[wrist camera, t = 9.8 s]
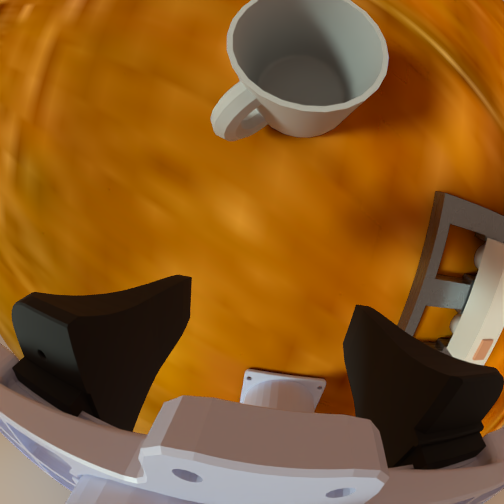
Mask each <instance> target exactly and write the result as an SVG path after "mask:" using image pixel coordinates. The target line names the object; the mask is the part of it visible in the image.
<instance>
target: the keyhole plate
mask: <svg viewBox="0 0 504 504" xmlns="http://www.w3.org/2000/svg"><path fill="white" fill-rule="evenodd" d="M450 224H452V225H456V226H459V227H462V228H465V229H468V230H471V231H475V237H477V238H479V239H481V240H484V241H487V238H490V239H493V240H496V241H499V242H501V243H504V216H502V215H500V214H498V213H496V212H493V211H491V210H489V209H486V208H484V207H481V206H479V205H476V204H474V203H471V202H469V201H466V200H463V199H461V198H458V197H455V196H453V195H450V194H447V193H443V192H438V191H435V197H434V203H433V208H432V213H431V218H430V222H429V227H428V231H427V235H426V239H425V243H424V247H423V251H422V255H421V258H420V262H419V265H418V269H417V272H416V275H415V278H414V281H413V284H412V287H411V290H410V293H409V296H408V299H407V302H406V305H405V307H404V310H403V313H402V315H401V318H400V320H399V323H398V325H397V326H398V327H399V328H401V329H402V330H404V331H405V332H407V333H408V334H410V335H411V336H413V335H414V332H415V330H416V328H417V325H418V323H419V321H420V318H421V316H422V313H423V311H424V308H425V306H426V305H427V306H435V307H444V308H453V309H455V310H456V311H457V312H458V313H459V314H463V311H464V309H465V306H466V304H467V301H468V299H469V296H470V293H471V290H472V288H473V285H474V282H475V279H476V276H473V275H468V274H464V275H463V278H456V277H451V276H446V275H440V274H437V271H438V268H439V264H440V261H441V258H442V254H443V251H444V247H445V243H446V239H447V235H448V231H449V226H450ZM450 340H451V339H447V338H438V340H437V342H422V343H424V344H426V345H428V346H430V347H431V348H433V349H435V350H438V351H440V352H442V353H444V354H447V355H449V356H452V355H451V354H450V353H449V351H448V350H447V346H448V344H449V342H450Z"/></svg>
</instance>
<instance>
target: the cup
mask: <svg viewBox="0 0 504 504" xmlns="http://www.w3.org/2000/svg"><path fill="white" fill-rule="evenodd" d="M227 53H228V55H229V58H230V61H231V64H232V67H233V69H234V70H235V72H236V74H237V75H238V77H239V80H240V81H239V82H238V83H237V84H236V85H234V86H233V87H232V88H231V89H230V90H228V91H227V92H226V93H225V94H224V95H223V97H222V98H221V99H220V100H219V102H218V103H217V105H216V106H215V108H214V109H213V111H212V115H211V123H212V126H213V130H214V132H215V134H216V135H218V136H220V137H222V138H224V139H226V140H228V141H236V140H239V139H242V138H245V137H248V136H250V135H252V134H254V133H256V132H257V131H259V130H260V129H262V128H263V127H265V126H266V125H267V124H269V125H270V126H271V127H272V128H274V129H276V130H278V131H279V132H281V133H283V134H286V135H290V136H294V137H314V136H318V135H322V134H324V133H326V132H328V131H330V130H332V129H334V128H335V127H336V126H338V125H339V124H340V123H341V122H342V121H343V120H344V119H345V118H346V117H347V116H348V115H349V114H351V113H352V112H353V111H354V110H355V109H356V108H357V107H358V106H359V105H360V104H362V103H363V102H364V101H365V100H366V99H367V98H368V97H369V96H370V95H372V94H373V93H374V92H375V91H376V90H377V89H378V88H379V86H380V85H381V83H382V81H383V79H384V77H385V76H386V73H387V67H388V60H389V56H388V50H387V45H386V41H385V39H384V37H383V35H382V33H381V31H380V29H379V27H378V25H377V24H376V23H375V22H374V21H373V20H372V18H371V17H370V16H369V15H368V14H367V13H366V12H365V11H364V10H363V9H361V8H360V7H359V6H357V5H356V4H354V3H353V2H352V1H350V0H251V1H250V2H249V3H247V4H246V5H244V6H243V7H242V8H241V10H240V11H239V12H238V13H237V14H236V16H235V17H234V18H233V20H232V22H231V25H230V28H229V30H228V33H227Z"/></svg>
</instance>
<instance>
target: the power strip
mask: <svg viewBox="0 0 504 504" xmlns="http://www.w3.org/2000/svg"><path fill="white" fill-rule="evenodd" d="M474 264H475V266H476V267H477V268H478V269H479V270H478V273H477V276H476V279H475V282H474V285H473V288H472V290H471V293H470V296H469V299H468V301H467V304H466V306H465V309H464V311H463V314H459V313H458V314H456V315H455V316H454V318H453V319H452V321H451V323H450V330H451V332H452V333H453V336H452V338H451V340H450V342H449V344H448V346H447V350H448V351H449V353H450V354H451V355H452V357H454V358H457V359H460V360H463V361H467V362H470V363H474V364H478V365H483V366H484V364H485V362H486V360H487V359H488V357H489V355H490V353H491V351H492V349H493V348H494V346H495V344H496V342H497V340H498V338H499V336H500V334H501V332H502V329H503V327H504V243H501V242H499V241H496V240H493V239H490V238H487V241H486V245H481V246H480V247H479V248H478V249H477V251H476V253H475V256H474Z"/></svg>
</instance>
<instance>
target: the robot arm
mask: <svg viewBox="0 0 504 504" xmlns="http://www.w3.org/2000/svg"><path fill="white" fill-rule="evenodd" d="M191 280H192V277H187V276H182V275H174V276H170V277H167V278H164V279H161V280H158V281H155V282H152V283H149V284H145V285H142V286H138V287H135V288H131V289H128V290H123V291H119V292H113V293H107V294H97V295H85V296H68V295H54V294H46V293H38V292H33V293H31V294H29V295H27V296H26V297H24V298H23V299H21V300H19V301H18V302H16V303H15V304H14V306H13V309H12V322H13V326H14V329H15V332H16V335H17V338H18V341H19V344H20V347H21V349H22V352H23V354H24V356H25V357H24V358H22V359H21V360H20V361H19V360H18V358H17V357H16V356H15V355H14V354H13V353H12V352H11V351H9V350H8V349H7V348H5V347H4V346H3V345H2V344H0V432H1V433H2V434H3V435H4V436H5V437H6V438H7V439H8V440H9V441H10V442H11V443H12V444H13V445H14V446H15V447H16V448H17V449H19V450H20V451H21V452H22V453H23V454H24V455H25V456H26V457H27V458H29V459H30V460H31V461H32V462H33V463H34V464H36V465H37V466H38V467H39V468H40V469H42V470H43V471H44V472H45V473H47V474H48V475H49V476H51V477H52V478H53V479H55V480H56V481H57V482H59V483H60V484H62V485H63V486H64V487H66V488H67V489H69V490H70V491H72V492H71V494H70V496H69V497H68V499H67V501H66V502H65V504H484V503H485V502H487V501H488V500H489V499H491V498H492V497H493V496H495V495H496V494H497V493H499V492H500V491H501V490H502V489H504V428H501V429H498V430H496V431H493V432H490V433H488V434H487V435H485V436H484V437H483V438H482V436H481V434H480V431H482V430H483V428H484V426H483V424H482V422H481V420H482V419H483V418H484V417H485V416H486V414H487V413H488V412H489V410H490V409H491V408H492V406H493V405H494V404H495V402H496V401H497V399H498V398H499V396H500V394H501V392H502V389H503V385H504V379H503V376H502V375H501V374H500V373H499V371H498V370H497V369H496V368H494V367H488V366H483V365H478V364H474V363H470V362H467V361H463V360H460V359H457V358H454V357H452V356H449V355H447V354H444V353H442V352H440V351H438V350H435V349H433V348H431V347H430V346H428V345H426V344H424V343H422V342H421V341H419V340H417V339H416V338H414V337H413V336H411V335H410V334H408V333H407V332H405V331H404V330H402V329H401V328H399V327H398V326H397V325H395V324H394V323H393V322H391V321H390V320H389V319H387V318H386V317H384V316H383V315H382V314H380V313H379V312H378V311H376V310H375V309H373V308H371V307H369V306H362V305H356V307H355V310H354V313H353V316H352V319H351V322H350V325H349V328H348V331H347V333H346V336H345V339H344V342H343V349H344V360H345V365H346V369H347V374H348V378H349V382H350V386H351V390H352V395H353V399H354V405H355V414H356V417H354V416H349V415H344V414H324V413H315V412H314V411H315V408H316V406H317V404H318V402H319V400H320V397H321V395H322V393H323V391H324V388H325V386H326V380H325V379H320V378H310V377H301V376H293V375H286V374H279V373H272V372H266V371H259V370H254V369H247V370H246V371H245V376H244V382H243V387H242V393H241V399H240V403H237V402H232V401H227V400H223V399H218V398H212V397H198V396H181V397H178V398H175V399H173V400H170V401H167V402H165V403H164V404H163V406H162V408H161V410H160V412H159V414H158V416H157V417H156V419H155V421H154V423H153V425H152V427H151V429H150V431H149V433H148V435H146V434H140V433H135V432H133V429H134V426H135V423H136V421H137V418H138V415H139V413H140V410H141V408H142V405H143V403H144V401H145V398H146V396H147V394H148V391H149V389H150V387H151V385H152V383H153V381H154V379H155V377H156V375H157V373H158V371H159V369H160V368H161V366H162V365H163V363H164V362H165V360H166V359H167V357H168V356H169V354H170V353H171V351H172V350H173V348H174V347H175V345H176V344H177V342H178V340H179V339H180V337H181V336H182V334H183V332H184V330H185V328H186V326H187V323H188V321H189V319H190V303H191ZM249 377H251V378H249ZM319 386H321V387H319Z"/></svg>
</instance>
